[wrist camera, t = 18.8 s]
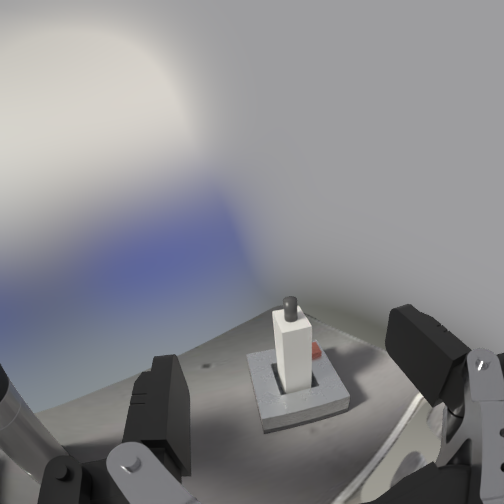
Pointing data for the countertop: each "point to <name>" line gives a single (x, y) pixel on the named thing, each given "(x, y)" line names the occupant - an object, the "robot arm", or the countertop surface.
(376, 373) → the countertop surface
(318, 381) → the socket box
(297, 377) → the plug
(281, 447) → the countertop surface
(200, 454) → the countertop surface
